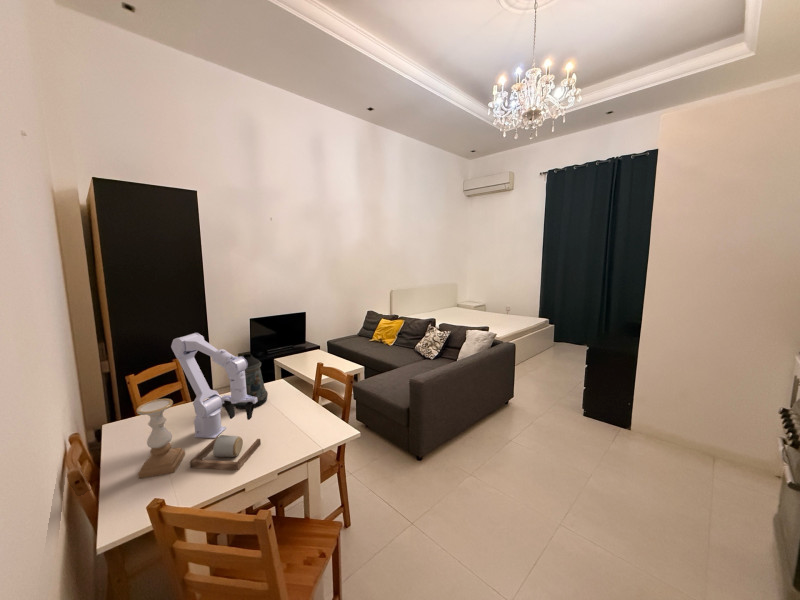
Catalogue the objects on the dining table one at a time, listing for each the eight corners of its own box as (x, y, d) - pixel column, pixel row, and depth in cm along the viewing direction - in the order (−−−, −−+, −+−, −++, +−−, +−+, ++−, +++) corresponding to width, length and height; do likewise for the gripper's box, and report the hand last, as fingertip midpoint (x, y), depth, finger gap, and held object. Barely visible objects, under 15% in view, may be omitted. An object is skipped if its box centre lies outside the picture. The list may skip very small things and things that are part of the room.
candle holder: (174, 472, 110) (166, 410, 106) (137, 479, 107) (128, 415, 103) (185, 453, 121) (178, 396, 117) (152, 458, 117) (144, 400, 114)
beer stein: (248, 413, 150) (244, 364, 146) (221, 404, 158) (217, 358, 154) (275, 398, 165) (271, 353, 161) (249, 391, 173) (246, 348, 169)
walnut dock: (190, 467, 113) (189, 461, 112) (218, 442, 128) (217, 436, 127) (238, 470, 111) (237, 464, 111) (260, 444, 126) (260, 438, 126)
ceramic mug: (235, 460, 116) (234, 442, 115) (213, 461, 116) (211, 442, 115) (248, 444, 127) (247, 426, 126) (227, 444, 126) (226, 426, 125)
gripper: (214, 390, 123) (218, 422, 125) (249, 392, 122) (252, 424, 124) (226, 383, 130) (229, 413, 132) (259, 384, 129) (261, 415, 131)
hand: (240, 418), depth 128 cm, fingers open, 7 cm apart
